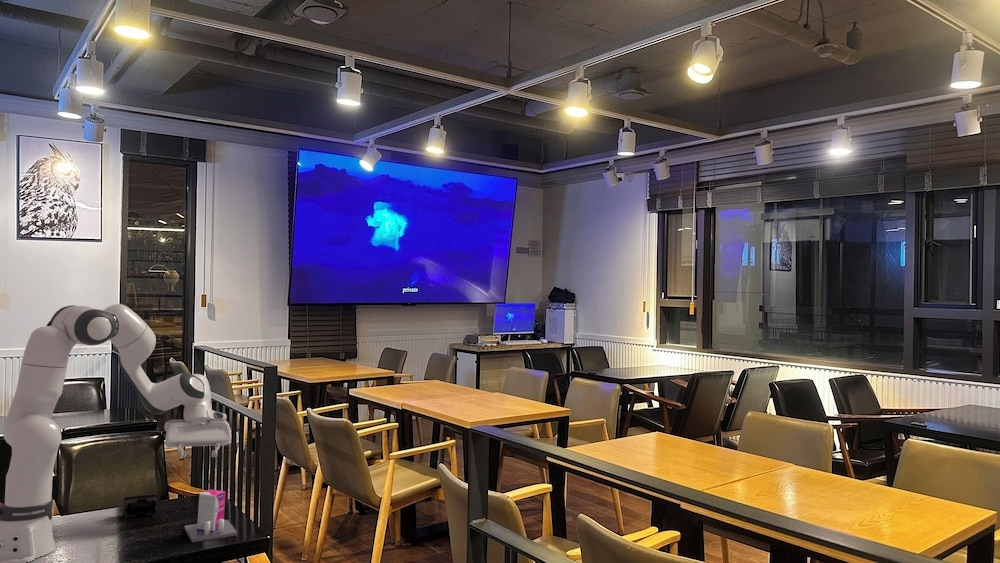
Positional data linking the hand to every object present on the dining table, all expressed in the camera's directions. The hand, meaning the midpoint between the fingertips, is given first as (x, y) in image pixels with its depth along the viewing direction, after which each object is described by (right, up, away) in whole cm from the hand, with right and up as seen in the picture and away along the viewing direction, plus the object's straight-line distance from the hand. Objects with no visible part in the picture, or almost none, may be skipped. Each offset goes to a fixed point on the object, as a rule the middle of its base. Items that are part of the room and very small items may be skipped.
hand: (199, 456), depth 231 cm
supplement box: (+8, -20, -10) cm, 24 cm away
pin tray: (+8, -21, -10) cm, 25 cm away
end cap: (-20, -20, +1) cm, 28 cm away
